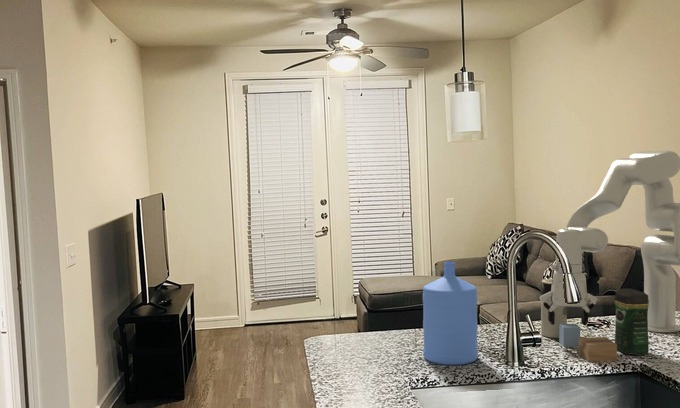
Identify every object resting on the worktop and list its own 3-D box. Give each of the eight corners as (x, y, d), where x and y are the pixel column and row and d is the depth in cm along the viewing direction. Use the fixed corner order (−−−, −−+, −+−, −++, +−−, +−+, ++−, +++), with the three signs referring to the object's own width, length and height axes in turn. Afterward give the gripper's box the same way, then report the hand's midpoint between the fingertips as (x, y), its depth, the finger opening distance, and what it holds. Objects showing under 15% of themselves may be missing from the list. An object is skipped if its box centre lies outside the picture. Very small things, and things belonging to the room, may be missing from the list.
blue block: (559, 342, 207) (559, 323, 207) (575, 342, 207) (575, 323, 206) (563, 346, 202) (563, 327, 202) (580, 346, 202) (580, 327, 201)
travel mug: (536, 335, 216) (536, 280, 215) (549, 331, 221) (549, 277, 220) (558, 339, 210) (558, 283, 209) (571, 335, 215) (571, 280, 214)
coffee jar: (653, 355, 191) (654, 291, 190) (627, 356, 190) (628, 292, 189) (634, 346, 200) (635, 286, 199) (610, 348, 199) (610, 287, 198)
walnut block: (578, 354, 194) (578, 337, 194) (605, 353, 194) (605, 337, 194) (588, 362, 186) (588, 344, 186) (616, 361, 186) (616, 344, 186)
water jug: (486, 363, 186) (485, 265, 184) (432, 367, 183) (431, 267, 182) (466, 349, 201) (465, 258, 200) (416, 352, 198) (415, 260, 197)
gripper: (543, 270, 200) (542, 326, 201) (601, 271, 199) (600, 327, 199) (537, 266, 207) (536, 321, 208) (593, 267, 206) (592, 322, 207)
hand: (567, 324), depth 204 cm, fingers open, 9 cm apart
